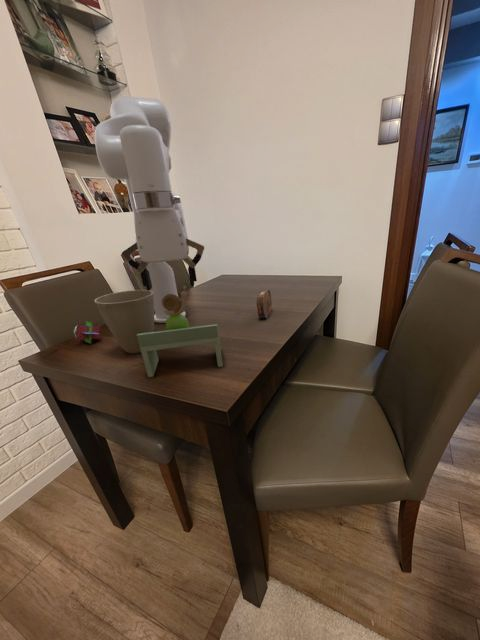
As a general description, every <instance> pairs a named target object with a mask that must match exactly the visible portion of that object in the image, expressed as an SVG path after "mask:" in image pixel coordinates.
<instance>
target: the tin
mask: <svg viewBox="0 0 480 640" xmlns="http://www.w3.org/2000/svg"><path fill="white" fill-rule="evenodd" d="M271 294H272V293H271V291H270V290H269V289H265V290H264V289H263V290H261V291H260V293H259V294H258V296H257V297H256V308H257V316H258V318H259V319H268V317H269V316H270V314H271V312H272V304H273V303H272V295H271Z"/></svg>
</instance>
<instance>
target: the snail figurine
mask: <svg viewBox="0 0 480 640" xmlns="http://www.w3.org/2000/svg"><path fill="white" fill-rule="evenodd" d="M186 288H187V286H186V285H183V286H182V289H183V290H182V291H181V292H180V296H181V298H180V297H179V295H178V296H176V295H174V294H167V295H165V296H164V297H163V299H162V304H163V306H164V308H165V309H167V310H164V312H165V313H166V314H168V315H171V316H169V317H168V319H167V320H166V323H165V329H166V330H173V329H181V328H189V326H190V323H189V320H188V319H187V317H186V316H183V315H181V313H182V312H185V310H186V308H187V296H188V292H187V289H186Z"/></svg>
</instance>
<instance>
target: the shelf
mask: <svg viewBox="0 0 480 640" xmlns="http://www.w3.org/2000/svg"><path fill="white" fill-rule="evenodd" d="M137 339H138V342H139V346H140V349H141V352H140V353H141V356H142V360H143V363H144V367H145V371H146V375H147V378H153V377H154V375H155V373H156V369H157V367H158V364H159V356H158V352H157V351H160V350H168V349H174V348H175V349H176V348H183V347H191V346H197V345H206V344H213V343H214V349H215V356H216V363H217V368H222V367H224V365H223V357H222V349H221V342H220V335H219V327H218V324H217V323H215V324H206V325H200V326H190V327H189V328H181V329H173V330H167V329H166V330H158V331H153V332H149V333H140V334H137Z"/></svg>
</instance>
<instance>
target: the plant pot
mask: <svg viewBox="0 0 480 640" xmlns="http://www.w3.org/2000/svg"><path fill="white" fill-rule="evenodd" d="M94 304H95V305H96V307H97V310H98V312H99V314H100V316H101V318H102V319H103V321H104V323H105V325H106V327H107V328H108V330H109V331H110V333H111V334H112V336H113V337H114V339H115V341H116V342H117V343H118V344H119V345H120V347H121V348H122V349H123V351H124V352H125V353H127V354H138V353H139V354H140V353H141V349H140V346H139V342H138V339H137V334H140V333H149V332H154V328H155V322H154V315H155V310H154V298H153V292H152V291H150V290H149V291H147V289H132V290H123V291H119V292H118V291H117V292H113V293H108V294H104V295H101V296H98V297H96V298H95V299H94Z"/></svg>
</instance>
